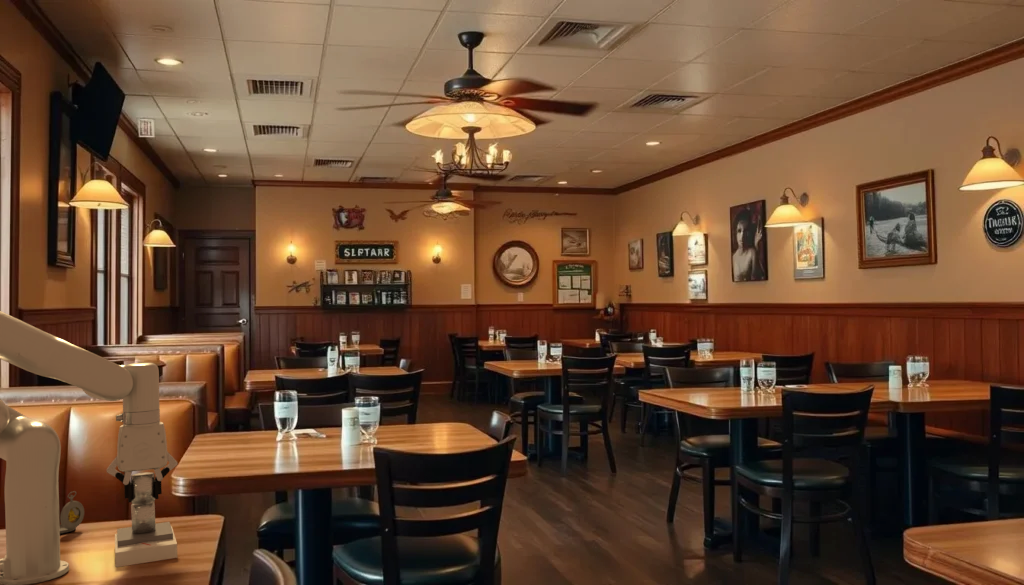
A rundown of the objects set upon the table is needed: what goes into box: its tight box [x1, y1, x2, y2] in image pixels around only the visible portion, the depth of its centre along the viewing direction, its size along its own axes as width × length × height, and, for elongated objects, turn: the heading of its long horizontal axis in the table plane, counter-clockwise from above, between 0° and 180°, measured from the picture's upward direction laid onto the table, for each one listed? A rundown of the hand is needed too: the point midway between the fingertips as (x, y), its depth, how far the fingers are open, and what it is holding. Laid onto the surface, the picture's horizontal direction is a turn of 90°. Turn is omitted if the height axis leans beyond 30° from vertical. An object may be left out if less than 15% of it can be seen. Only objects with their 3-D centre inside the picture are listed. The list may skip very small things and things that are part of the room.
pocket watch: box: [59, 490, 85, 535], centre depth 198 cm, size 8×8×10 cm
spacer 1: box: [130, 471, 156, 505], centre depth 182 cm, size 5×5×6 cm
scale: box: [114, 521, 178, 568], centre depth 180 cm, size 12×16×4 cm
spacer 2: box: [130, 501, 156, 533], centre depth 182 cm, size 5×5×6 cm
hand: (143, 498), depth 181 cm, fingers closed on spacer 1, 4 cm apart
